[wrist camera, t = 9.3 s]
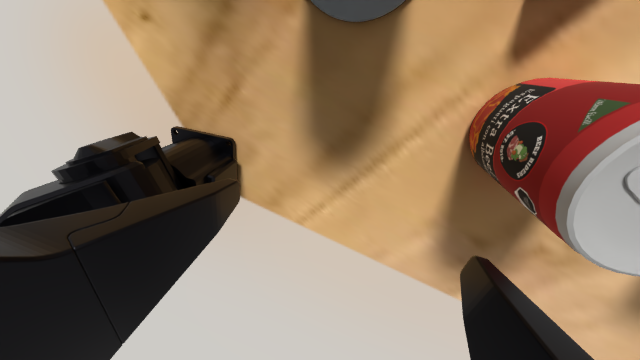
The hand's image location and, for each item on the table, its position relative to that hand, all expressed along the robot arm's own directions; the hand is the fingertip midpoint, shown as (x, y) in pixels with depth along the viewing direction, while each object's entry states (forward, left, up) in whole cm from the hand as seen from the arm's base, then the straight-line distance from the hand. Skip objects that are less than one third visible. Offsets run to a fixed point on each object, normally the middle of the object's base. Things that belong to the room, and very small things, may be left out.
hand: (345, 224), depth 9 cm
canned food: (+13, +3, -14) cm, 19 cm away
